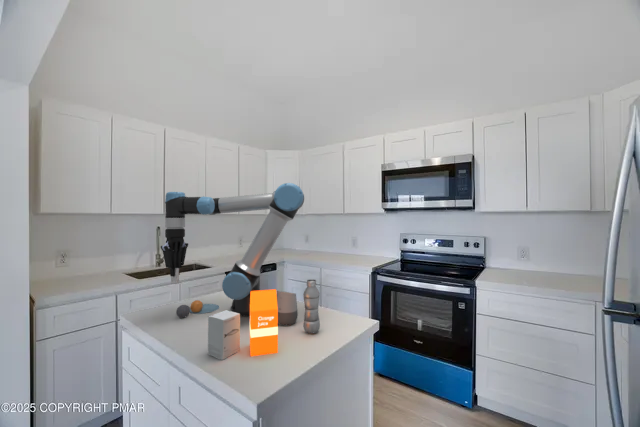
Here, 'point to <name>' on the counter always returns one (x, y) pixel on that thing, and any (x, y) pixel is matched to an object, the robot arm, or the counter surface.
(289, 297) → the smart speaker
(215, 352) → the supplement box
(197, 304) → the object ball
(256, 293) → the orange juice
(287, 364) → the counter surface
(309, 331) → the plastic bottle
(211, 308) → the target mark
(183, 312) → the dark grey ball
